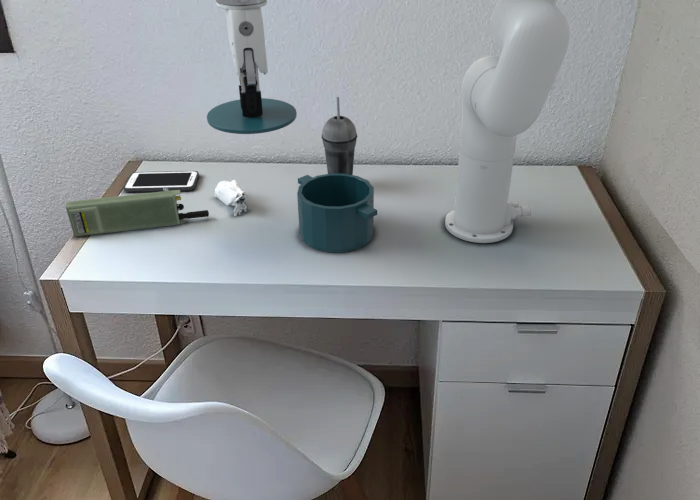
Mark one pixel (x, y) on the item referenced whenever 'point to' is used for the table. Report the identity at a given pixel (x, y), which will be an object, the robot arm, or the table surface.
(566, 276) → the table surface
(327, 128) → the beverage cup
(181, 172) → the cell phone
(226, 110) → the lid
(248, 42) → the robot arm
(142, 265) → the table surface
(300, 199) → the teal cooking pot
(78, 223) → the handheld radio
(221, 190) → the white tied bag
